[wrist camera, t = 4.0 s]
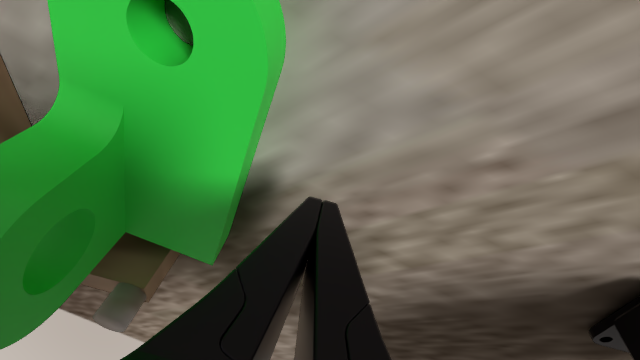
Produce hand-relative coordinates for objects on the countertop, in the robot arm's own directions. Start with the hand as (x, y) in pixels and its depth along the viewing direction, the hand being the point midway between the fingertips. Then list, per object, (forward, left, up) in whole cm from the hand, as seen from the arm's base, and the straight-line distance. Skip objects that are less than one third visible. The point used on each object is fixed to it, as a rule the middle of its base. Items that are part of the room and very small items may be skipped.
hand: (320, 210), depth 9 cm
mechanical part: (+6, 0, -4) cm, 7 cm away
